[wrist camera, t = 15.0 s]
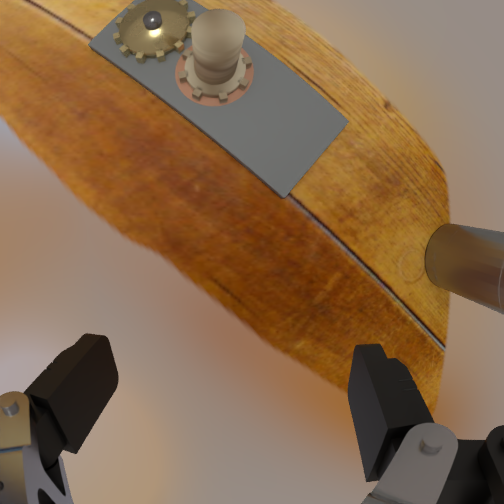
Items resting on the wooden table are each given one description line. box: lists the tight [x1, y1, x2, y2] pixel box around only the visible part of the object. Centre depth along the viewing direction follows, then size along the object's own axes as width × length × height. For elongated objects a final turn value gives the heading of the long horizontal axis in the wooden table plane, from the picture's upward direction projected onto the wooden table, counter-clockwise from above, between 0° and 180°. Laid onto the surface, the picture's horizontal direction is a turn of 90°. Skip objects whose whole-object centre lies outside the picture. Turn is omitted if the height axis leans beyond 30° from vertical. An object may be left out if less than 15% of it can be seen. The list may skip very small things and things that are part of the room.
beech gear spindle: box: [178, 9, 252, 104], centre depth 26 cm, size 8×8×10 cm
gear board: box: [88, 0, 349, 198], centre depth 32 cm, size 30×12×2 cm, turn 50°
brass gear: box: [113, 0, 196, 64], centre depth 28 cm, size 9×9×3 cm
